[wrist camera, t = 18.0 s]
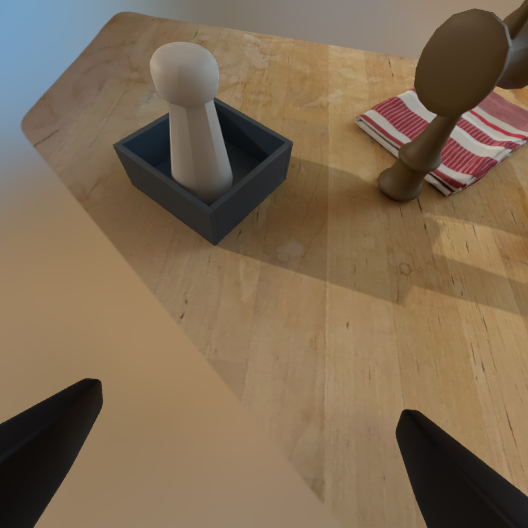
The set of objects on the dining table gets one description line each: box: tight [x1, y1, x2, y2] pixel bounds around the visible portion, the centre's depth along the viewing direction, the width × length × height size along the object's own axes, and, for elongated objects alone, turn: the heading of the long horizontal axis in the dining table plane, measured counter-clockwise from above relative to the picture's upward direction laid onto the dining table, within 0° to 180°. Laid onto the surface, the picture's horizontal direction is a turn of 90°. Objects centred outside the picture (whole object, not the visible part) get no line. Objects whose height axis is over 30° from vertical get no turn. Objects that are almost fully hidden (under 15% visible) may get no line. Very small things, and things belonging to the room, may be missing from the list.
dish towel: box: [355, 88, 528, 196], centre depth 37 cm, size 17×23×3 cm
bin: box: [113, 97, 293, 246], centre depth 28 cm, size 12×12×5 cm
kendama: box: [377, 0, 528, 201], centre depth 23 cm, size 6×10×20 cm, turn 121°
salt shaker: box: [150, 42, 233, 207], centre depth 22 cm, size 6×6×13 cm
